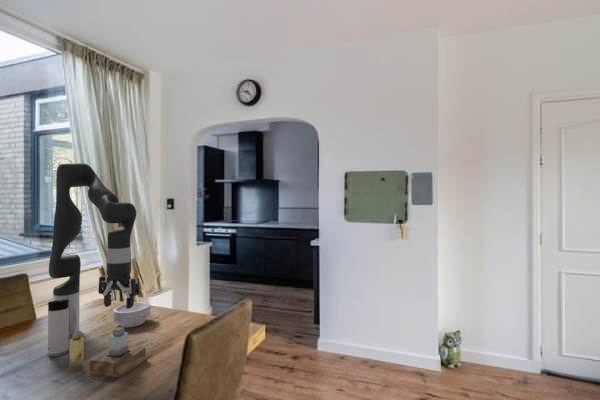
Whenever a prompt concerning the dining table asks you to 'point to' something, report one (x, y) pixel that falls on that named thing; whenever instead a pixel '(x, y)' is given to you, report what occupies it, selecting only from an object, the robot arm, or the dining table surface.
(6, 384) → the dining table surface
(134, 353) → the socket block
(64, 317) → the travel mug
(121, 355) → the square bit
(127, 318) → the white patterned bowl
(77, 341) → the round bit
